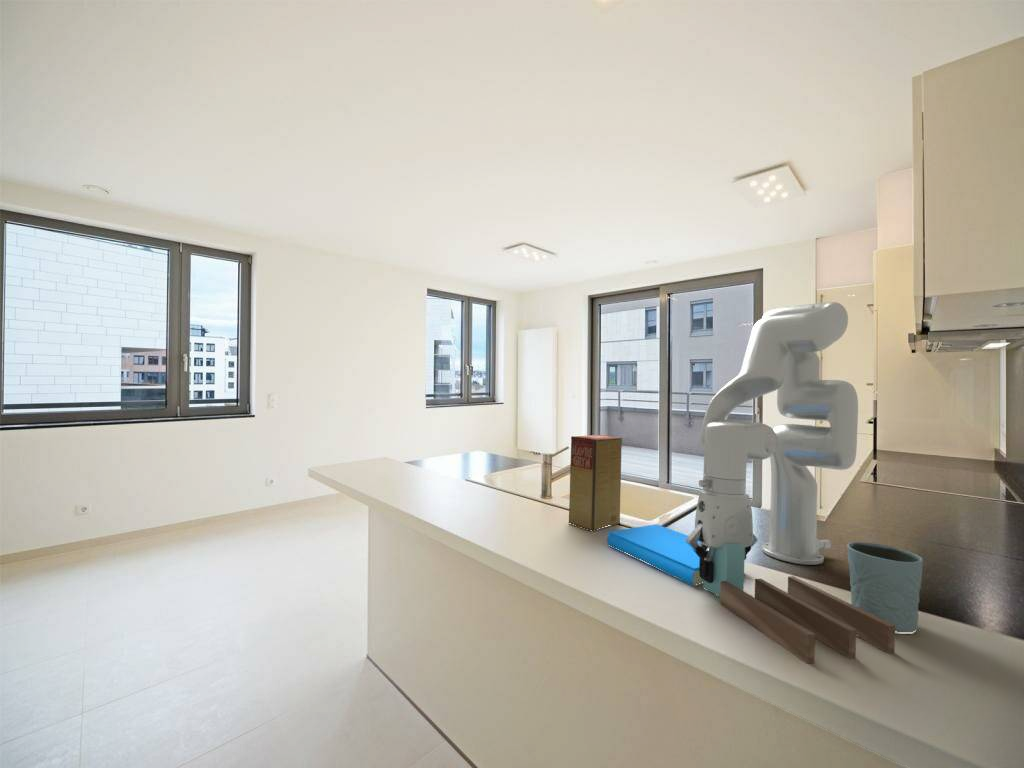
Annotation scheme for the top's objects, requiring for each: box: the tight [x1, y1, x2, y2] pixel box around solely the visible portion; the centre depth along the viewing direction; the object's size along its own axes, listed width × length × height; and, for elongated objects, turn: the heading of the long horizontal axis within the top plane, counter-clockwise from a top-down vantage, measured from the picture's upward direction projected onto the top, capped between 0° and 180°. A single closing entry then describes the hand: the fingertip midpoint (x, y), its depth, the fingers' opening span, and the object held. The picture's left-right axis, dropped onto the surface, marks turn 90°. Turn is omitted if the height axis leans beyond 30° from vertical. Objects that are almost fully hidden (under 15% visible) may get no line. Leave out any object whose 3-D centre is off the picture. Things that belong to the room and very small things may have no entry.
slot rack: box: [719, 575, 896, 664], centre depth 74 cm, size 16×18×4 cm
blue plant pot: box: [846, 541, 924, 632], centre depth 77 cm, size 10×10×12 cm
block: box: [702, 543, 746, 597], centre depth 86 cm, size 5×5×10 cm
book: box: [606, 523, 703, 586], centre depth 102 cm, size 17×4×25 cm
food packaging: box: [568, 434, 623, 532], centre depth 128 cm, size 13×9×25 cm
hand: (720, 578), depth 86 cm, fingers closed on block, 5 cm apart
